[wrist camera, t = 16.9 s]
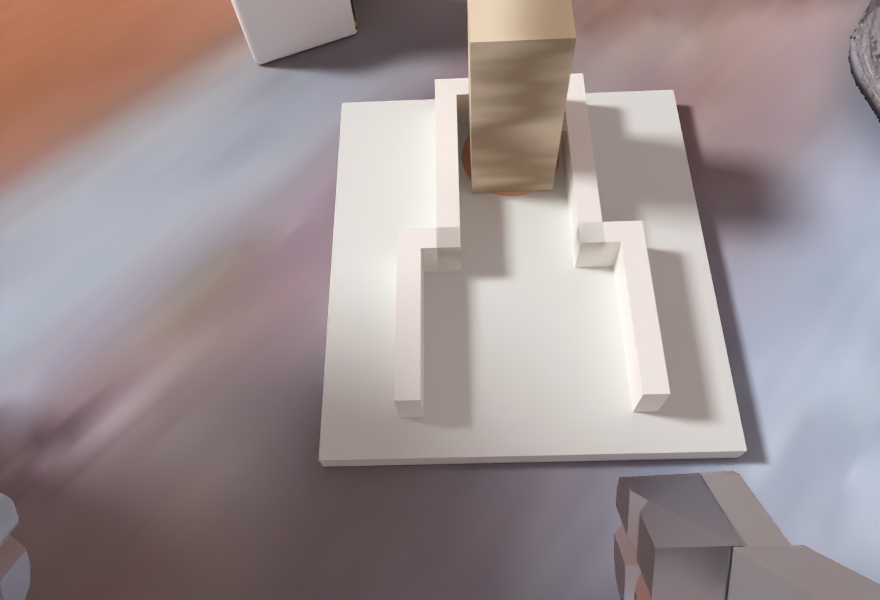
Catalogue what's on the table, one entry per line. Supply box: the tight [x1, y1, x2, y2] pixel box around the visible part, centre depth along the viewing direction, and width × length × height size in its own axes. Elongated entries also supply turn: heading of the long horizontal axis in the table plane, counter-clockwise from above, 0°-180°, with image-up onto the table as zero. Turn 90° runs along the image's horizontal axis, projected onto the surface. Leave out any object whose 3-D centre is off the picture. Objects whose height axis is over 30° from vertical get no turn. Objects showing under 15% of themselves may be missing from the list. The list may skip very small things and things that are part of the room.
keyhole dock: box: [319, 73, 747, 467], centre depth 38 cm, size 20×22×4 cm
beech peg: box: [467, 0, 576, 193], centre depth 37 cm, size 4×4×11 cm
